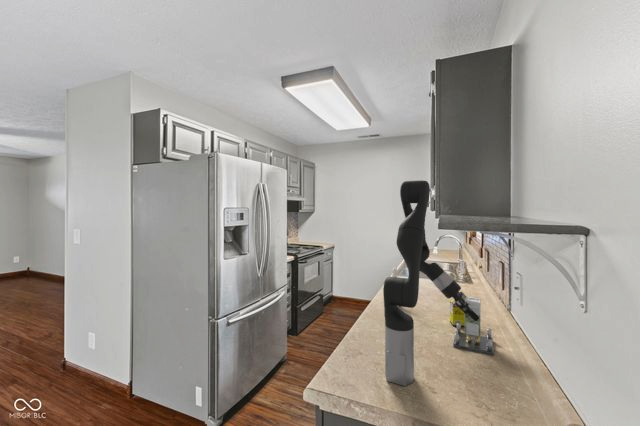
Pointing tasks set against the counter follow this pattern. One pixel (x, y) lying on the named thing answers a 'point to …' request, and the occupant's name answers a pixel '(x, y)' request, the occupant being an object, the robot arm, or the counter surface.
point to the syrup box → (471, 325)
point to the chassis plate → (474, 342)
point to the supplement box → (456, 314)
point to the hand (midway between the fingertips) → (477, 316)
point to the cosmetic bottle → (394, 274)
